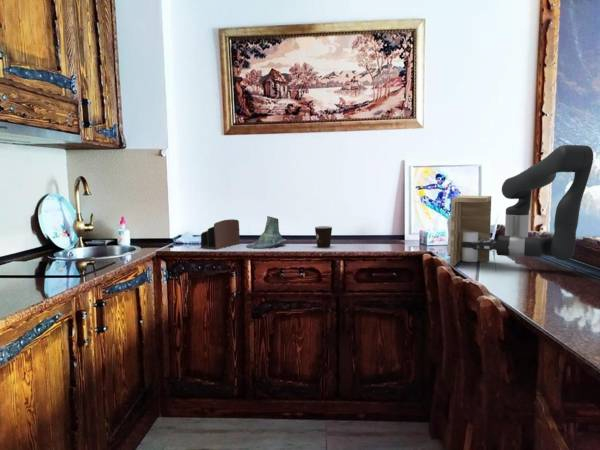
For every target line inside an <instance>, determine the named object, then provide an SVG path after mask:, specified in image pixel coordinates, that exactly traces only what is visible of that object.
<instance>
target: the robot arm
mask: <svg viewBox="0 0 600 450" xmlns="http://www.w3.org/2000/svg"><path fill="white" fill-rule="evenodd" d="M593 162H594V151H593V148H592V147H591V146H589V145H583V144H575V145H574V144H565V145H564V144H563V145H559V146H558V147H556V148H555V149H554V150H552V151H551V152H550V153H548V155H547V156H546V157H544V158H543V159H541V160H540V161H538V162H537V163H535V164H533V165H531V166H530V167H528V168H526V169H525V170H524V171H521V172H520V173H519V174H516V175H514V176H511V177H509V178H507V179H505V180H504V181H503V183H502V184H501V185H502V186H501V193H502V196H503V197H504V198H506V199H509V200H518V201H517V202H515V204H513V205H511V206H507V207H506V209H505V217H504V218H505V223H504V224H505V227H504V235H498V236H497V237H496V240H495V239H493V238H490V239H478V242H462V247H463V248H472V249H474V250H486V251H492V250H496V252H495V253H496V256H501V257H502V256H505V257H530V258H531V257H532V258H539V257H542V256H547V257H554V258H555V259H557V260H560V261H568V260H570V259H571V258H572V257H573V256H574V255H575V252H576V240H577V239H576V238H577V230H578V224H579V217H580V209H581V206H582V205H581V203H582V201H583V197H584V194H585V190H586V187H587V185H588V181H589V177H590V176H591V175H590V174H591V171H592V168H593ZM558 173H574V176H573V181H572V183H571V185H570V186H569V188H568V189H567V191H566V192H565V194H563V196H562V197H561V199H560V200H559V202H558V204H557V205H556V209H555V214H554V215H555V216H554V223H553V229H554V230H553V231H554V232H553V237H540V238H539V237H532V236H531V237H529V226H530V225H529V224H530V221H529V220H530V211H531V202H532V192H533V191H534V190H537V189H541V188H544V187H546V186H548V185H550V184H551V183H553V181H554V180H555V178H556V177H557V174H558ZM477 245H478V247H477Z"/></svg>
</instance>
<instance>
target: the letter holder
mask: <svg viewBox="0 0 600 450" xmlns="http://www.w3.org/2000/svg"><path fill="white" fill-rule="evenodd" d="M240 244H241V238H240V221H239V220H238V219H234V218H232V219H230V218H229V219H224V220H220V221H218V222H217V221H216V222H214V223H213V226H212V227H211V226H210V227H209V228H207V230H206V231H203V232H201V234H200V249H203V250H204V249H205V250H220V249H224V248H228V247H229V248H230V247H233V246H237V245H240Z"/></svg>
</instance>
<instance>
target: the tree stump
mask: <svg viewBox="0 0 600 450" xmlns="http://www.w3.org/2000/svg"><path fill="white" fill-rule="evenodd" d="M266 217H267V218H266V222H265V228H264V231H263V233H261V235H260V236H259V237H258V238H257V240H256V241H254V242H253V243H248V244H246V248H248V249H252V250H253V249H255V250H266V249H267V248H268V249H274V248H278V247H281V246H282V245H283V244H284V243H286V241H287V239H285V238H283V237H282V235H281V233H280V227H279V225H280V224H279V223H280V222H279V218H277V217H273V216H269V215H267V216H266ZM273 247H274V248H273Z"/></svg>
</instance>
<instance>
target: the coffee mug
mask: <svg viewBox="0 0 600 450" xmlns="http://www.w3.org/2000/svg"><path fill="white" fill-rule="evenodd" d="M314 231H315V238H316V239H315V240H316V245H317V248H318V249H327V248H331V243H332V242H331V241H332V232H333V226H329V225H328V226H325V225H324V226H323V225H321V226H315V227H314Z"/></svg>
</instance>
